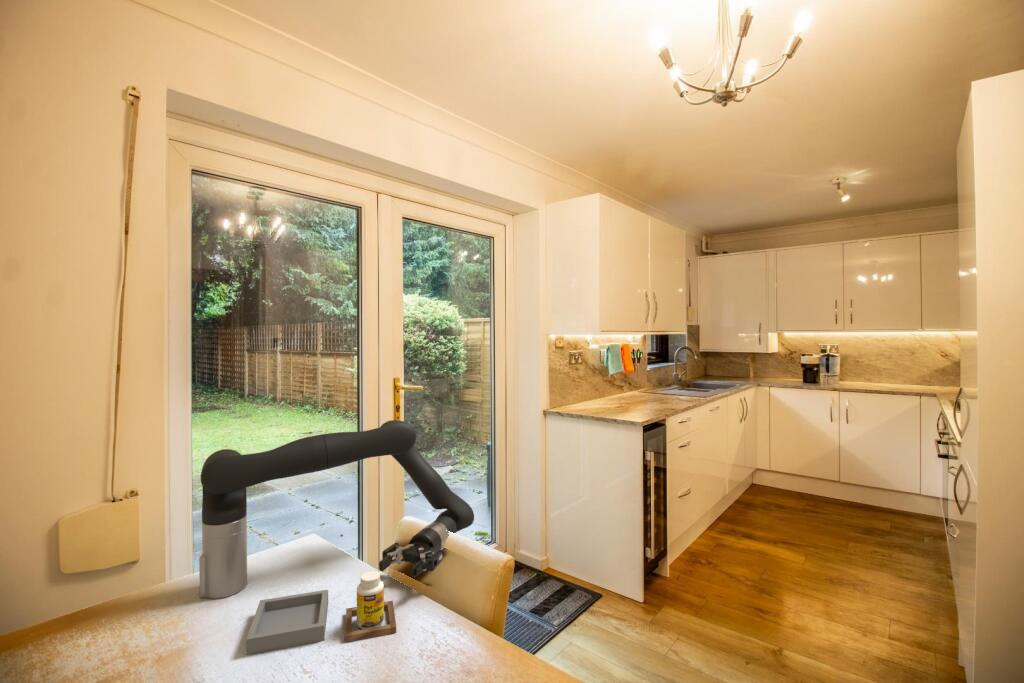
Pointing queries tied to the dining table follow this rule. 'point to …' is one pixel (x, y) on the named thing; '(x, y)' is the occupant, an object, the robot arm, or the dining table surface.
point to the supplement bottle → (370, 601)
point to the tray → (288, 622)
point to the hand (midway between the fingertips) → (396, 570)
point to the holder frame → (369, 632)
